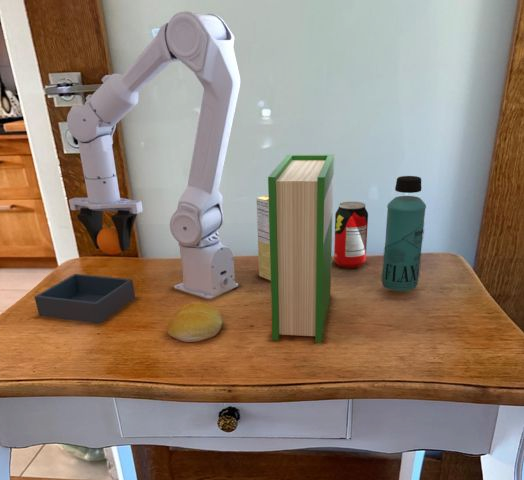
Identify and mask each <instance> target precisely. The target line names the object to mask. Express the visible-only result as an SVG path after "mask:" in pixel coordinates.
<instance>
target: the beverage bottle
mask: <svg viewBox="0 0 524 480" xmlns="http://www.w3.org/2000/svg"><path fill="white" fill-rule="evenodd" d="M394 190H395V192H398V193H403V194H414V193H415V194H416V193H420V192H422V178H421V177H420V176H417V175H401V176H398V177H397V178H396V183H395V187H394ZM386 207H387V214H386V224H385V241H384V248H383V253H382V254H383V260H382V264H381V266H382V267H381V275H380V276H381V277H380V280H381V284H382V287H383V288H385V289H387V290H389V291H394V292H408V291H412V290H414V289H416V288H417V286H418V284H419V281H420V280H419V279H420V275H421V274H420V273H421V271H420V267H421V263H422V261H421V257H422V247H423V246H422V245H423V240H424V235H425V226H426V225H425V215H426V209H427V205H426V203H425V202H424V200H422V198H421V197H418V196H415V195H400V196H396V197H394V198H393V199H392V200H390V201H389V202H388V204H387V205H386Z"/></svg>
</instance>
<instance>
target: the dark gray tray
mask: <svg viewBox="0 0 524 480" xmlns="http://www.w3.org/2000/svg"><path fill="white" fill-rule="evenodd" d="M135 292H136V291H135V286H134V281H133V279H132V278H130V279H129V278H120V277H112V276H111V277H110V276H103V275H102V276H100V275H99V276H98V275H91V274H80V273H74V274H72V275H70V276H69V277H66V278H65V279H63V280H61V281H60V282H57V283H56V284H54V285H52V286H50V287H48V288H47V289H45V290H43V291H42V292H40V293H39V294H37V295H35V296H34V301H35V305H36V309H37V313H38V317H44V318H51V319H52V318H53V319H59V320H67V321H74V322H82V323H90V324H98V325H101V324H102V323H104V322H105V321H106V320H108V319H109V318H110V317H112V316H113V315H114V314H116V313H117V312H118V311H120V310H122V308H124V307H126V306H127V305H128V304H129V303H131V302H132V301H134V300H135V299H136V294H135Z"/></svg>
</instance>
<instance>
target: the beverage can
mask: <svg viewBox="0 0 524 480" xmlns="http://www.w3.org/2000/svg"><path fill="white" fill-rule="evenodd" d="M368 224H369V213H368V210H367V207H366V204H365V203H364V202H362V201H343V202H340V203H339V204H338V208H337V210H336V212H335V214H334V245H333V246H334V248H333V249H334V251H333V260H334V262H335V264H337V265H338V266H339V267H341V268H346V269H354V268H358V267H360V266H362V265H363V264H364V263H365V262H366V260H367V259H366V258H367V243H368V242H367V241H368Z"/></svg>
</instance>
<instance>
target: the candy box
mask: <svg viewBox="0 0 524 480" xmlns="http://www.w3.org/2000/svg"><path fill="white" fill-rule="evenodd" d="M256 224H257V225H256V227H257V252H258V253H257V254H258V256H257V257H258V276H259V277H260V278H263V279H266V280H267V281H270V282H271V267H270V230H269V194H266V195H263V196H259V197H256Z"/></svg>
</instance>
